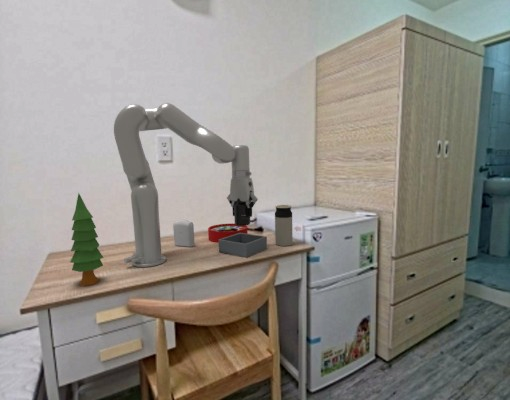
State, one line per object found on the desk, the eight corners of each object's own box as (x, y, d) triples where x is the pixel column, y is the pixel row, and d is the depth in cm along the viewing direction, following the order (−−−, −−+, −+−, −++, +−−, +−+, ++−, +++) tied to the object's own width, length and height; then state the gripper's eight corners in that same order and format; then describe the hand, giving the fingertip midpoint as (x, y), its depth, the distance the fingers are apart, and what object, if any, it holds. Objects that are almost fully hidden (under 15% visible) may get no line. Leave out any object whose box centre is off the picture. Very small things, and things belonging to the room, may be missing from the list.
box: (246, 257, 121) (245, 244, 121) (218, 252, 130) (218, 239, 129) (266, 248, 133) (266, 236, 133) (240, 244, 142) (240, 232, 141)
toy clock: (252, 229, 147) (211, 233, 141) (252, 241, 148) (212, 245, 142) (241, 222, 166) (205, 225, 160) (241, 232, 167) (205, 236, 161)
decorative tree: (71, 289, 94) (61, 194, 91) (74, 279, 103) (65, 191, 99) (105, 283, 98) (97, 192, 95) (106, 274, 107) (98, 190, 103)
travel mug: (291, 246, 136) (291, 207, 133) (274, 246, 137) (273, 207, 135) (293, 242, 143) (292, 204, 141) (276, 241, 145) (275, 204, 143)
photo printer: (173, 245, 143) (171, 220, 141) (179, 243, 146) (177, 218, 145) (190, 247, 138) (188, 221, 136) (196, 245, 142) (194, 219, 140)
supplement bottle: (244, 226, 126) (243, 198, 124) (231, 225, 129) (230, 197, 128) (253, 223, 131) (252, 196, 130) (240, 222, 135) (239, 195, 134)
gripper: (262, 174, 126) (263, 216, 128) (231, 174, 136) (232, 213, 138) (252, 175, 120) (253, 219, 122) (219, 175, 130) (221, 216, 132)
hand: (242, 215), depth 130 cm, fingers closed on supplement bottle, 6 cm apart
